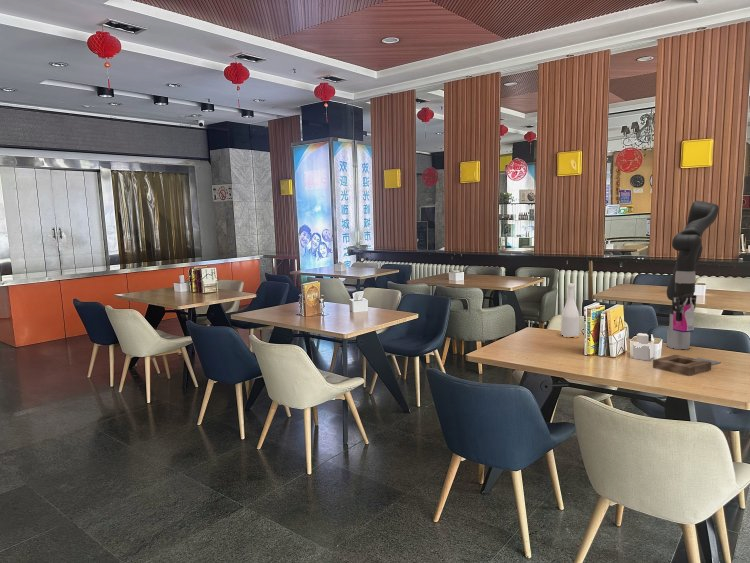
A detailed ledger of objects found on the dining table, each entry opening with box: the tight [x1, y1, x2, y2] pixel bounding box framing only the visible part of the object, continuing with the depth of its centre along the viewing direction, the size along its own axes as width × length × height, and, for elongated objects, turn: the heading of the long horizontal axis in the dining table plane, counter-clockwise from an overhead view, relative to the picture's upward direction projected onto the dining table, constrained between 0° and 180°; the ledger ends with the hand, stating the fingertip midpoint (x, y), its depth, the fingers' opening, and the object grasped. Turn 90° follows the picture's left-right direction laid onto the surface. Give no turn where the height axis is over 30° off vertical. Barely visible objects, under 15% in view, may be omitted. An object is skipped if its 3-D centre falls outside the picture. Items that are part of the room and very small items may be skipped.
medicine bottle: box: [632, 332, 652, 362], centre depth 250 cm, size 7×7×12 cm
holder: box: [652, 354, 712, 377], centre depth 231 cm, size 16×16×4 cm
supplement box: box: [673, 304, 695, 333], centre depth 230 cm, size 6×6×12 cm
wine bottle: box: [560, 282, 580, 337], centre depth 299 cm, size 10×10×30 cm
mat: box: [694, 357, 722, 366], centre depth 241 cm, size 10×10×1 cm
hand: (683, 320), depth 230 cm, fingers closed on supplement box, 6 cm apart
